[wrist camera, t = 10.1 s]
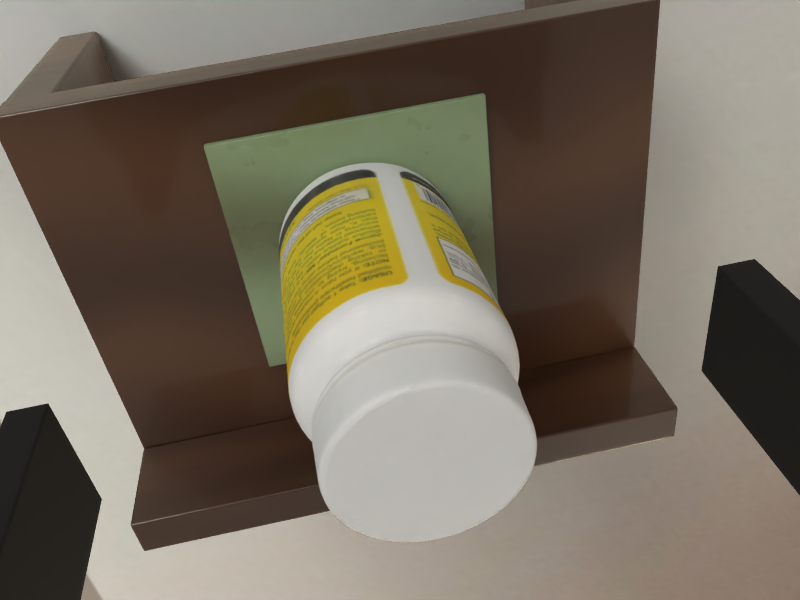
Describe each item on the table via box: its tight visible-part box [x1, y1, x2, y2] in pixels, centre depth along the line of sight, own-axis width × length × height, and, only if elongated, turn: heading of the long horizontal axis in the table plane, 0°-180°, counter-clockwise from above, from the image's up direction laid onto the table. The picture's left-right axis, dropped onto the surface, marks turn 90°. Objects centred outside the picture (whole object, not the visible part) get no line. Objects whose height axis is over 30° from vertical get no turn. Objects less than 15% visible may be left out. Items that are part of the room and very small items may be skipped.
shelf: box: [0, 0, 677, 551], centre depth 22 cm, size 12×16×10 cm
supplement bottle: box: [279, 163, 537, 542], centre depth 16 cm, size 5×5×8 cm
